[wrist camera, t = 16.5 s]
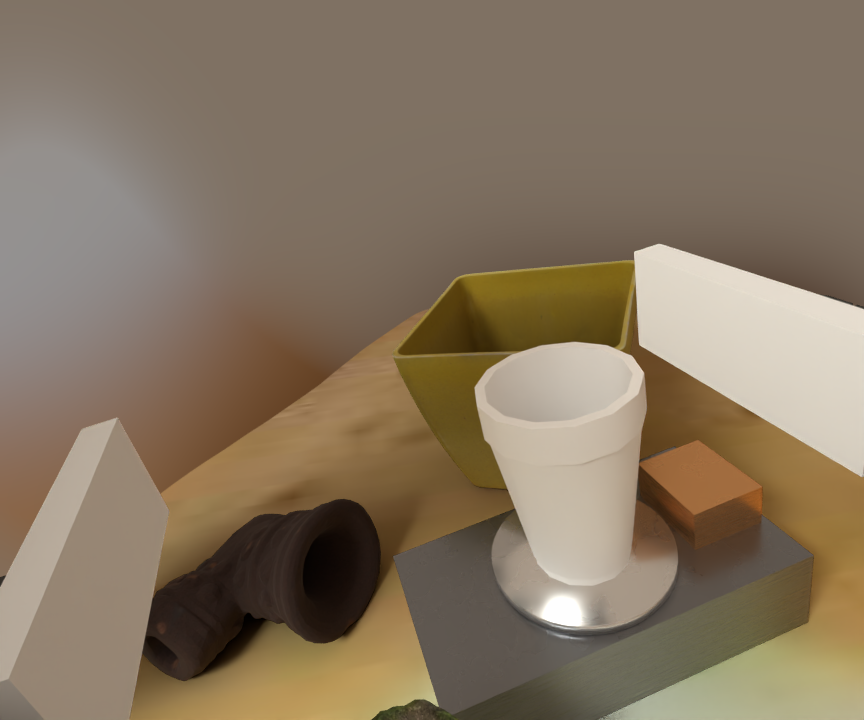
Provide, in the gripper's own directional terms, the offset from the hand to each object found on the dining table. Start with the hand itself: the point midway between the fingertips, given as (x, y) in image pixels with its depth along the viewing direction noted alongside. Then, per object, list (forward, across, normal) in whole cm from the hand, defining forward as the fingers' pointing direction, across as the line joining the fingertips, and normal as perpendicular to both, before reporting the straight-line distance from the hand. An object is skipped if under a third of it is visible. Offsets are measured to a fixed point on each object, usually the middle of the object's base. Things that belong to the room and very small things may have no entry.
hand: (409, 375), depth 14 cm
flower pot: (+32, +16, -31) cm, 47 cm away
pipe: (+25, -12, -31) cm, 42 cm away
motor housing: (+13, +10, -30) cm, 34 cm away
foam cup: (+13, +10, -24) cm, 29 cm away
